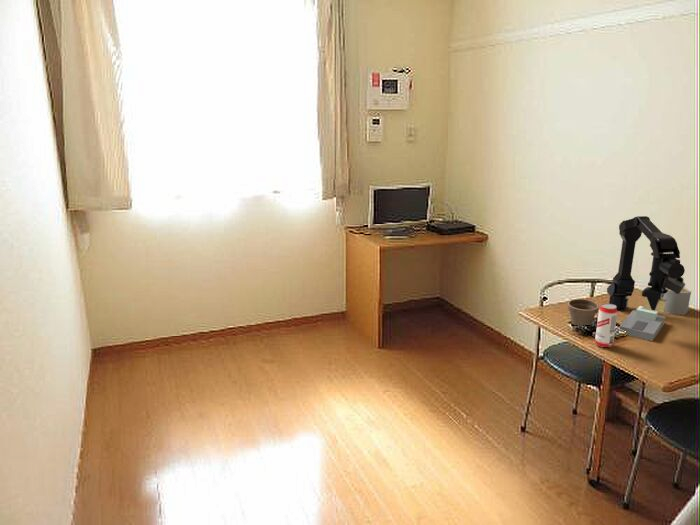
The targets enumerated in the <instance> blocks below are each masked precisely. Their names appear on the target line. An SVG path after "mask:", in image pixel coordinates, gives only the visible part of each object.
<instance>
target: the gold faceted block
mask: <svg viewBox="0 0 700 525" xmlns="http://www.w3.org/2000/svg"><path fill="white" fill-rule="evenodd" d="M666 302H667V300H665V299H662V298H661V299H659V301H658V303H657V306H656V309H655V310H652V309H651V307H650V304H649V301H648V299H647V297H644V299H643V309H648V310H652V311H657V312H658V313H661V314H663V313H666V312H665V308H666Z"/></svg>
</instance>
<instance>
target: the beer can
mask: <svg viewBox="0 0 700 525" xmlns="http://www.w3.org/2000/svg"><path fill="white" fill-rule="evenodd" d="M616 308H617V307H616V306H615V305H613V304H609V303H608V302H607V303H606V302H605V303H602V304H601V305H600V306H599V309H598V313H597V323H596V331H595V338H594V342H595V344H596V346H597V345H598V346H597V347H599V346H601V347H600V348H602V347H610V348H611V347H613V346H614V342H615V341H614V340H615V333H616V325H617V318H618V312H619V310H617V309H616Z"/></svg>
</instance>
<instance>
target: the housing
mask: <svg viewBox="0 0 700 525" xmlns="http://www.w3.org/2000/svg"><path fill="white" fill-rule="evenodd" d="M636 311H637V309H633V310H632V311H631V312H630V313H629V314H628V315H627V317H625V319H624V320H623V322H621V324H620V325H619V328H620V329H622V330H624V331H626V334H627V335H626V336H628V335H629V336H628V337H632V336H633V337H632V338H637V339H642V340H646V341H649V342H653V341H654V340H655V338H657V336H658V334H659V333H660V331H661V330H662V328H663V326H664V325H665V322H666V316H663V315H659V314H658V317H657V318H656V320H655V321H654V320H649V319H645V318H640V317H636Z"/></svg>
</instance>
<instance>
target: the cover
mask: <svg viewBox="0 0 700 525" xmlns="http://www.w3.org/2000/svg"><path fill="white" fill-rule="evenodd" d="M643 306H644V305H643ZM643 306H642V305H639V306H638V307H637V308H636V317H640V318H645V319H649V320H654V321H655V320H656V318H657V317H658V315H659V312H657V311H652V310H648V309H643Z"/></svg>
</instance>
